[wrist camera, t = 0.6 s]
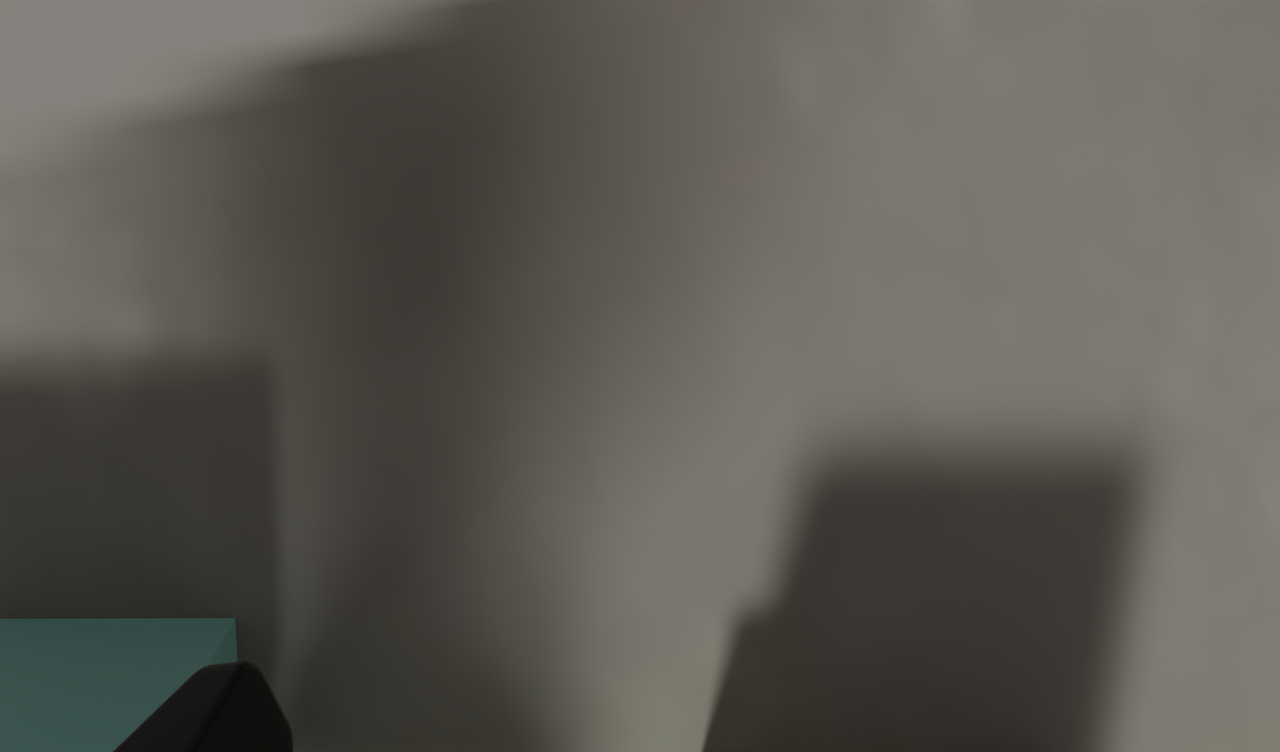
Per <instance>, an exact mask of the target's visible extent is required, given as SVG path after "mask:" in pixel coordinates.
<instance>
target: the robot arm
mask: <svg viewBox="0 0 1280 752" xmlns="http://www.w3.org/2000/svg"><path fill="white" fill-rule="evenodd" d="M113 752H293V737H292V732H291V728H290V725H289V722H288V720H287V718H286V717H285V715H284V713H283V711H282V709H281V707H280V705H279V703H278V701H277V699H276V697H275V696H274V694H273V692H272V690H271V688H270V686H269V684H268V682H267V680H266V678H265V676H264V675H263V673H262V671H261V670H260V668H259V667H258V666H256V665H255V664H253V663H252V662H247V661H242V662H233V663H223V664H214V665H208V666H205V667H202V668H201V669H199V670H198V671H196V672H195V673H194V674H193V675H192V676H191V677H190V678H189V679H187V680H186V681H185V682H184V683H183V684H182V685H181V686H180V687H179V688H178V689H177V690H176V691H175V692H174V693H173V694H172V695H171V696H170V697H169V698H168V699H167V700H166V701H165V702H164V703H163V704H161V705H160V706H159V707H158V708H157V709H156V710H155V711H154V712H153V713H152V714H151V715H150V716H149V717H148V718H147V719H146V720H145V721H144V722H143V723H142V724H141V725H140V726H139V727H138V728H137V729H135V730H134V731H133V732H132V733H131V734H130V735H129V736H128V737H127V738H126V739H125V740H124V741H123V742H122V743H121V744H120V745H119V746H118V747H117V748H116V749H115V750H114V751H113Z"/></svg>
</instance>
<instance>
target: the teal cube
mask: <svg viewBox="0 0 1280 752" xmlns="http://www.w3.org/2000/svg"><path fill="white" fill-rule="evenodd" d="M233 662H237V639H236V618H71V619H0V752H113V751H114V750H115V749H116V748H117V747H118V746H119V745H120V744H121V743H122V742H123V741H124V740H125V739H126V738H127V737H128V736H129V735H130V734H131V733H132V732H133V731H134V730H135V729H137V728H138V727H139V726H140V725H141V724H142V723H143V722H144V721H145V720H146V719H147V718H148V717H149V716H150V715H151V714H152V713H153V712H154V711H155V710H156V709H157V708H158V707H159V706H160V705H161V704H163V703H164V702H165V701H166V700H167V699H168V698H169V697H170V696H171V695H172V694H173V693H174V692H175V691H176V690H177V689H178V688H179V687H180V686H181V685H182V684H183V683H184V682H185V681H186V680H187V679H189V678H190V677H191V676H192V675H193V674H194V673H195V672H196V671H198V670H199V669H201V668H202V667H205V666H208V665H214V664H223V663H233Z"/></svg>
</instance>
